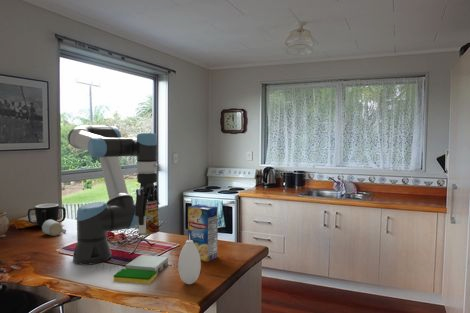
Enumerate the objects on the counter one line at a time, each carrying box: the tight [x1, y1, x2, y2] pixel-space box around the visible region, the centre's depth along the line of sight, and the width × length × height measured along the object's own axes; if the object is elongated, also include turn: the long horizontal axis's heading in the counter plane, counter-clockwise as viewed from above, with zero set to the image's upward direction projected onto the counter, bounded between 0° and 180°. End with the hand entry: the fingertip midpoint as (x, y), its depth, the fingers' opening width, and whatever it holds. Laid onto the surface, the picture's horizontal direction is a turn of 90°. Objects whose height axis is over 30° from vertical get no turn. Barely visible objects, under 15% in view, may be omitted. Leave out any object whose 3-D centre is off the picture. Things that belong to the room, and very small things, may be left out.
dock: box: [125, 254, 169, 275], centre depth 140 cm, size 12×12×3 cm
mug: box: [27, 203, 67, 228], centre depth 205 cm, size 16×16×12 cm
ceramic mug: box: [41, 219, 67, 237], centre depth 188 cm, size 11×8×8 cm
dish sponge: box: [112, 268, 158, 285], centre depth 130 cm, size 7×14×2 cm, turn 80°
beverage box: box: [187, 203, 219, 262], centre depth 153 cm, size 7×11×22 cm, turn 56°
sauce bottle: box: [177, 233, 202, 285], centre depth 125 cm, size 8×8×18 cm
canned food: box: [137, 200, 160, 236], centre depth 139 cm, size 8×8×12 cm
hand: (147, 230), depth 139 cm, fingers closed on canned food, 8 cm apart
